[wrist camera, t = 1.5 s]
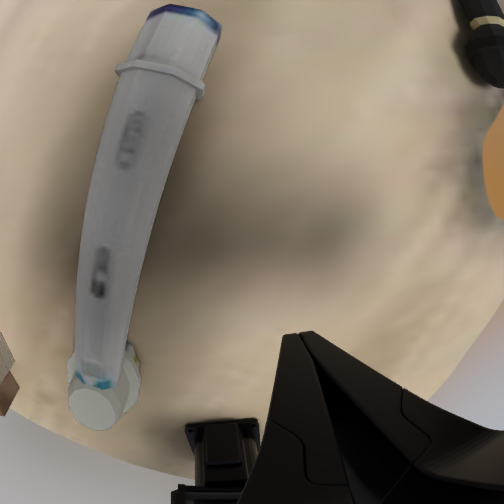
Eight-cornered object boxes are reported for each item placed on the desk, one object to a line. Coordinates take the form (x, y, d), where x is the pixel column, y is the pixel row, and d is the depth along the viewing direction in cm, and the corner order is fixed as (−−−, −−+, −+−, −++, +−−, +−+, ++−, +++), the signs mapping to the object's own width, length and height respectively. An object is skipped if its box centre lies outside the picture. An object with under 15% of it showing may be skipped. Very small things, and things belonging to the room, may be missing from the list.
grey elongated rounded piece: (242, 16, 10) (127, 462, 15) (227, 65, 17) (138, 400, 21) (132, -5, 9) (52, 438, 14) (150, 47, 15) (78, 382, 20)
